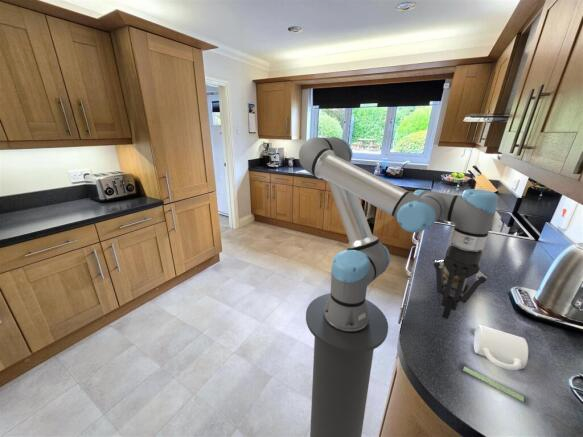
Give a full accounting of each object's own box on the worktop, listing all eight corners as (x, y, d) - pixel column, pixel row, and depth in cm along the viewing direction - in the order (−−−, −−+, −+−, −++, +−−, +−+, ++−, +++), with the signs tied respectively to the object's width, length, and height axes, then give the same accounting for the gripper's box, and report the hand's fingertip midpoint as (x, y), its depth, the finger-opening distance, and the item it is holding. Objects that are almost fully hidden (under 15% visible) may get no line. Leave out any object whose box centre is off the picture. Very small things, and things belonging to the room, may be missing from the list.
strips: (463, 370, 65) (463, 369, 65) (474, 330, 79) (474, 330, 78) (523, 402, 57) (523, 401, 57) (523, 351, 71) (524, 351, 71)
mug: (472, 340, 75) (478, 318, 72) (514, 353, 70) (522, 331, 68) (477, 370, 65) (484, 346, 63) (526, 388, 60) (536, 364, 58)
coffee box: (438, 283, 105) (445, 249, 100) (441, 277, 109) (449, 244, 104) (463, 291, 99) (472, 256, 94) (466, 285, 103) (475, 251, 98)
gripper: (436, 243, 68) (419, 311, 76) (494, 259, 60) (469, 334, 67) (442, 235, 73) (426, 300, 81) (497, 249, 65) (473, 320, 73)
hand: (445, 315), depth 74 cm, fingers closed
